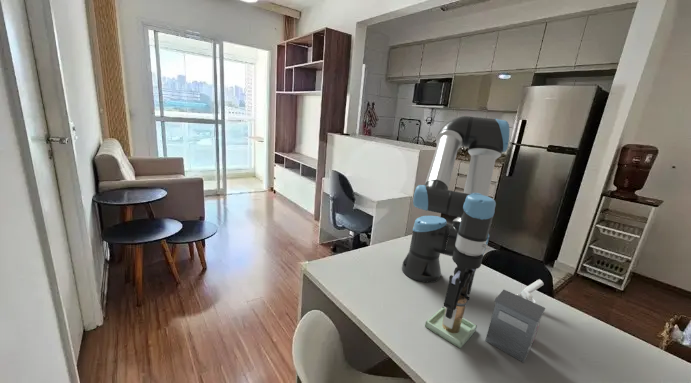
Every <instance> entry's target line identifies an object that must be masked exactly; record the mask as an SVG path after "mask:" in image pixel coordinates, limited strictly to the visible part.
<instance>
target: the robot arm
mask: <svg viewBox="0 0 691 383" xmlns="http://www.w3.org/2000/svg"><path fill="white" fill-rule="evenodd" d="M509 141H510V124H509V122H508V121H507V120H504V119H499V118H489V117H478V116H468V115H464V116H463V115H462V116H458V117H456V118H453V119H451V120H449V121H448V122H446V124H444V125H443V126H442V127H441V128H440V130H439V131H438V134H437V136H436V139H435V142H436V147H435V150H434V154H433V157H432V160H431V163H430V167H429V170H428V172H427V177H426V179H425V182H424V184H418V185H417V186H416V187H415V190H414V193H413V199H412V200H413V201H412V204H413V207H415V208H417V209H420V210H424V211H425V212H427V211H428V212H433V213H439V214H443V215H448V216H451V217H455V218H454V219H453V220H452V224H449V223H448V221H447V219H445V218H444V217H441V216H437V215H422V216H420V217H416V219H415V220H414V224H413V227H412V235H411V241H410V245H409V250H408V253H407V254H406V256H405V257H404V260H403V261H402V266H401V270H402V273H403V274H405V275H406V276H407V277H408V278H411V279H412V280H415V281H418V282H421V283H434V282H437V281H439V280H440V278H441V273H442V269H441V264H440V255H445V256H449V257H452V261H453V263H454V264H455V265H456V267H455V268H454V271H453V275H452V274H451V275H449V277H448V278H449V279H448V285H447V290H446V295H445V298H444V302H443V307H444V308H446V311H445V316H444V320H443V324H444V325H446V326H447V327H449V328H451V329H452V328H453V324H454V320H455V315H456V311H457V308H456V306H457V303H458V300H459V297H460V294H461V295H463V296H464V297H465V298H466V299H467V301H470V296H469V295H471V290H472V287H473V282H474V277H475V275H476V274H475V273H476V271H477V270H478V269H479V268H481V266H482V263H483V258H484V254H485V252H486V249H487V248H488V243H489V238H490V234H489V232H490V229H491V225H492V222H493V218H494V216H495V209H496V206H497V203H496V201H495V199H494V198H491V197H490V196H489V193H490V189H491V184H492V178H493V174H494V169H495V166H496V165H495V163H496V160H497V159H498V158H500V157H501V156H502V153H505V152H507V150H508V147H509ZM461 147H465V148H467V149H468V150H467V153H468V154H469V155H470V160H469V165H468V169H467V170H468V171H467V175H466V179H465V184H464V188H463V192H459V191H455V190H454V191H453V190H449V189H450V188H449V187H450V183H451V180H452V175H453V172H454V171H453V170H454V168H455V163H456V158H457V154H458V150H460V148H461Z"/></svg>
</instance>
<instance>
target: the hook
mask: <svg viewBox="0 0 691 383" xmlns="http://www.w3.org/2000/svg"><path fill="white" fill-rule="evenodd" d="M544 285H545V284H544V282H543V280H541V279H540V278H539V279H536V281H534V282H532V283H530V284H529V285H527V286H526V287H525V288H524V289H522V290H521V292H520V293H517V294H515V295H518V296H520V297H522V298H524V299H527V300H529V301H531V302H533V303H536V304H537V301H536V300H535V299H534V298H533V295H532V293H533V292H535V291H537V290H538V289H539V288H541V287H542V286H544Z"/></svg>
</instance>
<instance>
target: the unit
mask: <svg viewBox="0 0 691 383" xmlns="http://www.w3.org/2000/svg"><path fill="white" fill-rule="evenodd" d="M494 303H495V304H494V307H493V311H492V315H491V318H490V322H489V326H488V329H487V332H486V336H485V341H484V342H487V343H488V344H491V345H492V346H494V347H496V348H497V349H499V350H500V351H503V352H504V353H506V354H508V355H510V356H511V357H513V358H515V359H517V360H518V361H520V362H522V363H523V364H524V363H525V361H526V359H527V357H528V356H529V353H530V351H531V348H532V346H533V342H534V341H535V339H534V337H535V338H536V336H535V334H536V335H537V333H536V331H537V332H538V330H537V328H538V329H539V327H538V325H539V326H540V321H541V318H542V317H543V315H544V313H545V310H546V307H544V306H542V305H540V304H538V303H537V302H536V303H533V302H531V301H529V300H527V299H524V298H522V297H520V296H518V295H516V294H515V293H513V292H510V291H509V290H506V289H502V291H500V293H499V294H498V295H497V297H496V298H495V299H494ZM533 340H534V341H533Z"/></svg>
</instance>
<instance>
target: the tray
mask: <svg viewBox="0 0 691 383" xmlns="http://www.w3.org/2000/svg"><path fill="white" fill-rule="evenodd" d="M445 309H446V307H444V306H442V307H440V308H439V309H438V310H437V311H436V312H435V313H434V314H433V315H431V316H430V317H429V318H428V319H427V320H426V321H425V324H424V327H425V328H427V329H428V330H429V331H430V332H431V331H432V332H433V333H434V334H436V335H438V336H439V337H441V338H442V339H444V340H445V341H447V342H449V343H450V344H452V345H454V346H455V347H457V348H459V349H460V350H461V349H462V348H463V346H464V345H466V343H467V341H469V339H470V338H471V337H472V336H473V334H474V333H476V331H477V327H478V325H476V324H475V323H473V322H471V321H470V320H468V319H466V318H465V317H463V318H462V322H461V327H460V331H459V332H458V333H450V332H448V331H446V330H445V329H444V328H443V326H442V323H443V318H444V314H445Z"/></svg>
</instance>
